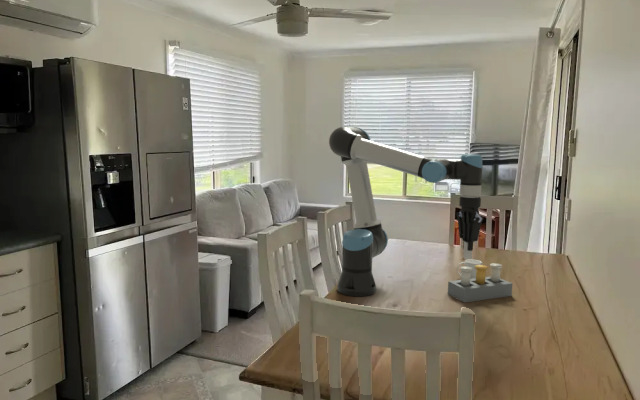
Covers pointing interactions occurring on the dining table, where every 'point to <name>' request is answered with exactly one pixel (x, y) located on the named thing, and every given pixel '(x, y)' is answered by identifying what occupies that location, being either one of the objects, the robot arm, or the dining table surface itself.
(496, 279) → the far plug
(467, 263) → the cup
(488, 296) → the board
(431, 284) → the dining table surface
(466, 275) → the near plug
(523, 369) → the dining table surface
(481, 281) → the ochre plug
